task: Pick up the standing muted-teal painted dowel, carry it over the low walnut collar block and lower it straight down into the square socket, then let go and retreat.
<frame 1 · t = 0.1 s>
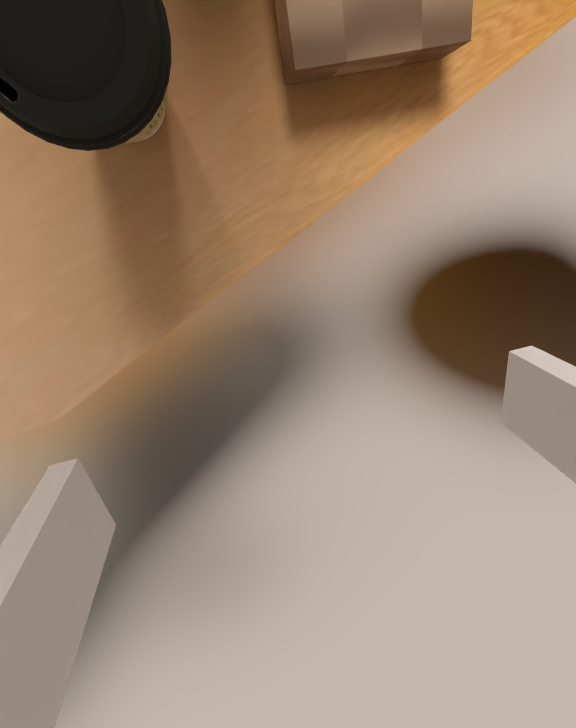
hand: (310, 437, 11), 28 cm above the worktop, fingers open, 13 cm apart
coffee cup: (125, 97, 29), on the worktop
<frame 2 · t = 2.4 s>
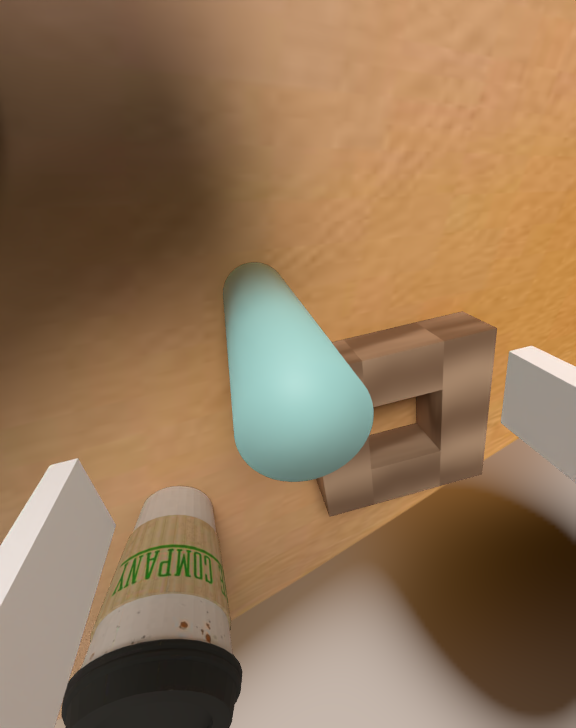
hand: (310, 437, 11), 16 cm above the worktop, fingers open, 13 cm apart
socket block: (384, 404, 32), on the worktop
peg: (254, 294, 25), on the worktop
coffee cup: (178, 510, 33), on the worktop
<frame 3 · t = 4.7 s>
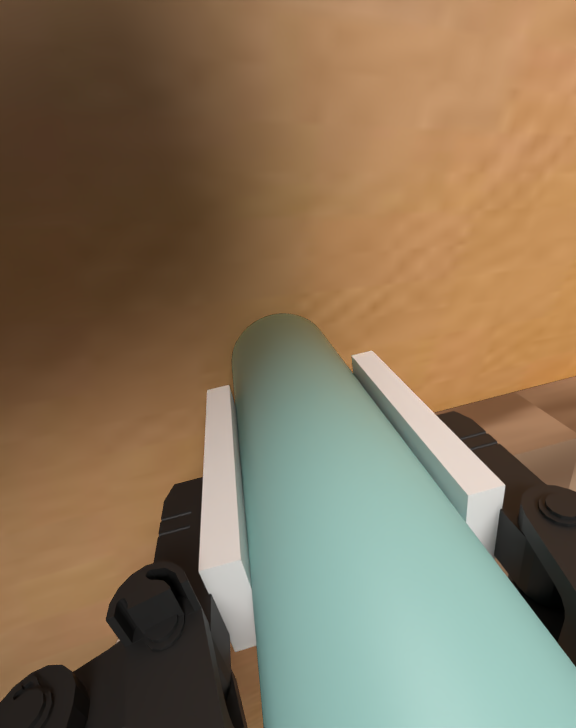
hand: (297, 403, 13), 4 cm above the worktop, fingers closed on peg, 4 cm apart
socket block: (457, 498, 22), on the worktop
peg: (281, 360, 16), on the worktop, touching gripper
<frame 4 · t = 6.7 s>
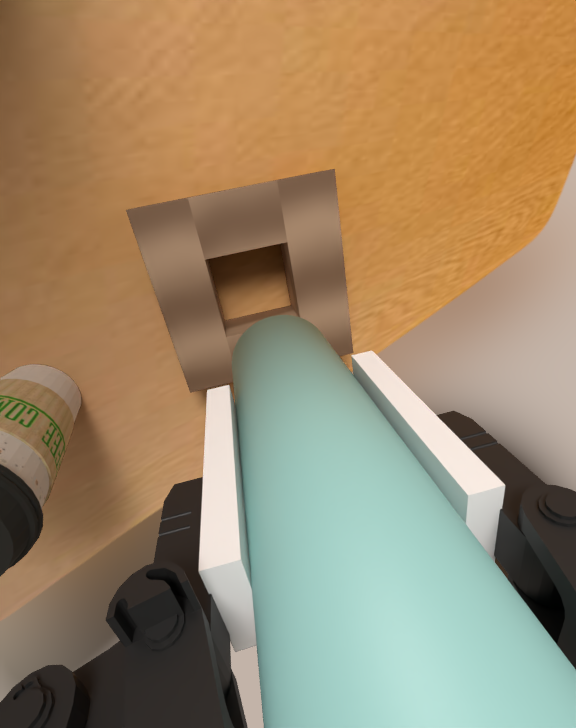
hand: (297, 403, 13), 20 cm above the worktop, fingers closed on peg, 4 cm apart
socket block: (250, 279, 30), on the worktop
peg: (281, 362, 16), point 16 cm above the worktop, touching gripper
coffee cup: (43, 394, 32), on the worktop
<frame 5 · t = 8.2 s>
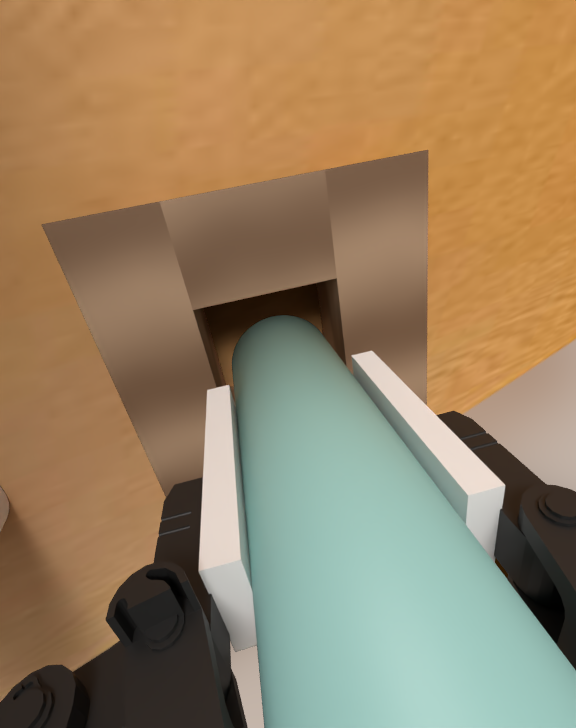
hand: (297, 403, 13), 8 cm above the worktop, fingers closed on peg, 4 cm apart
socket block: (267, 328, 20), on the worktop
peg: (281, 362, 16), point 4 cm above the worktop, touching gripper
when the fingers open (6 cm above the worktop, at t = 9.2 s): peg drops 2 cm, resting in socket block.
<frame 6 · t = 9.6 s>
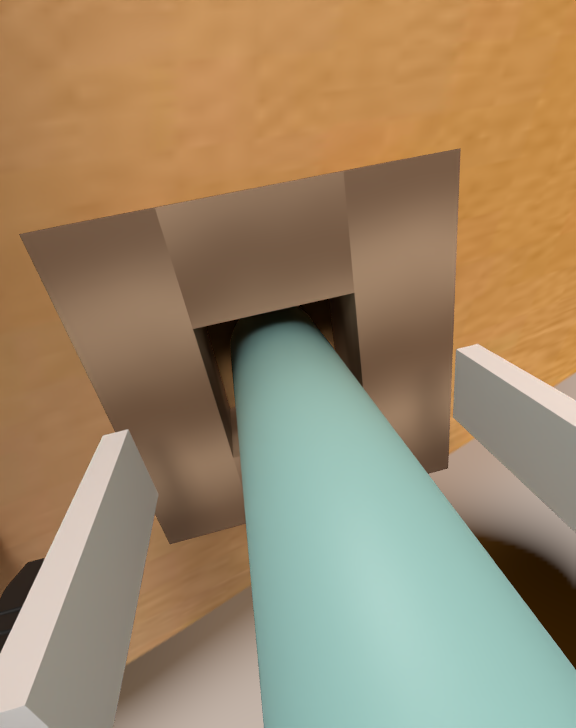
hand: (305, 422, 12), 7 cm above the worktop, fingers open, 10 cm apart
socket block: (274, 344, 18), on the worktop
peg: (274, 344, 18), resting in socket block
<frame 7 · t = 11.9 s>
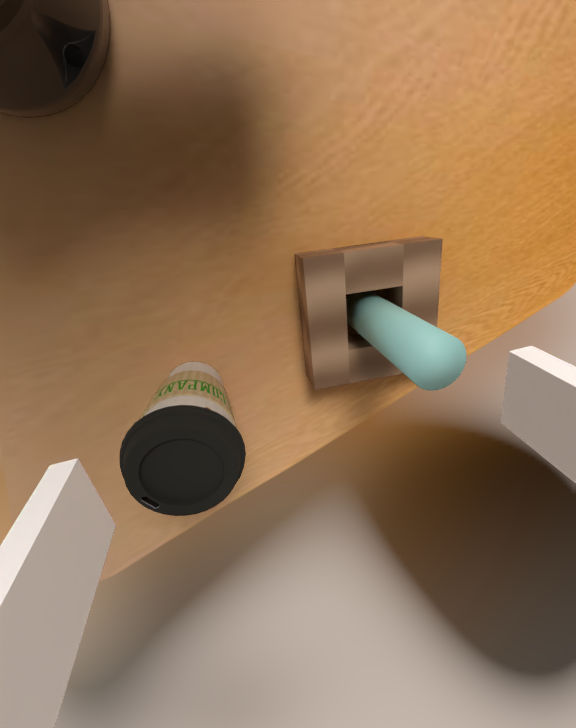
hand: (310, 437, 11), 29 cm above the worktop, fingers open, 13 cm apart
socket block: (361, 309, 41), on the worktop
peg: (361, 309, 41), resting in socket block
coffee cup: (195, 385, 41), on the worktop
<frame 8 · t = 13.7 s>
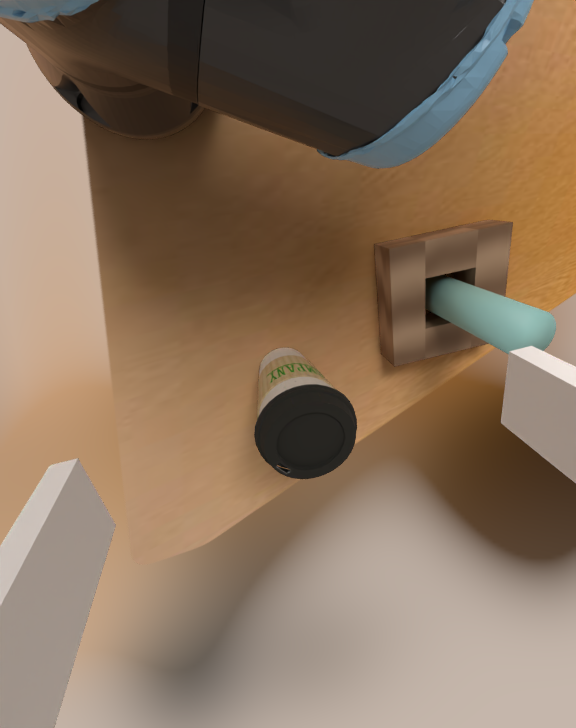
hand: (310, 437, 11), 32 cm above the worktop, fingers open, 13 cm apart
socket block: (431, 290, 45), on the worktop
peg: (431, 290, 45), resting in socket block
coffee cup: (283, 369, 46), on the worktop
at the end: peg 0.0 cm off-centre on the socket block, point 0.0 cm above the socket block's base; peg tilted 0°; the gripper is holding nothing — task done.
